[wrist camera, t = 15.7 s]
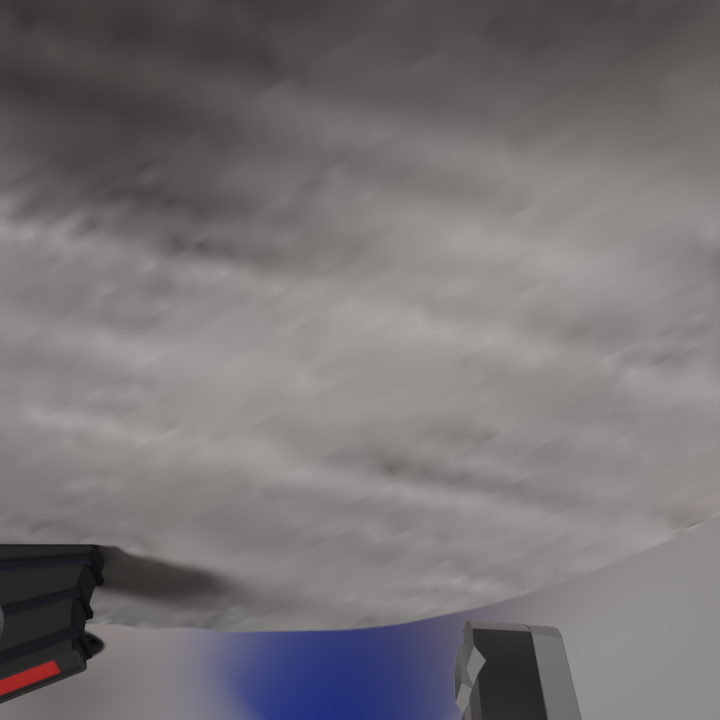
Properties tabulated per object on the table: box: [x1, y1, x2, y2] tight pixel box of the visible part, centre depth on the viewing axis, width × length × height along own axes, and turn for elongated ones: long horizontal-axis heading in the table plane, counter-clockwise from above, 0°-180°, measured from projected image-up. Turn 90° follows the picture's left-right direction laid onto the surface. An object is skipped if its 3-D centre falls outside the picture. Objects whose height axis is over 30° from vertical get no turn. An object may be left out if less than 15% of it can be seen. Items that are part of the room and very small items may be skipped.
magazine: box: [0, 545, 104, 704], centre depth 55 cm, size 4×13×15 cm, turn 93°
